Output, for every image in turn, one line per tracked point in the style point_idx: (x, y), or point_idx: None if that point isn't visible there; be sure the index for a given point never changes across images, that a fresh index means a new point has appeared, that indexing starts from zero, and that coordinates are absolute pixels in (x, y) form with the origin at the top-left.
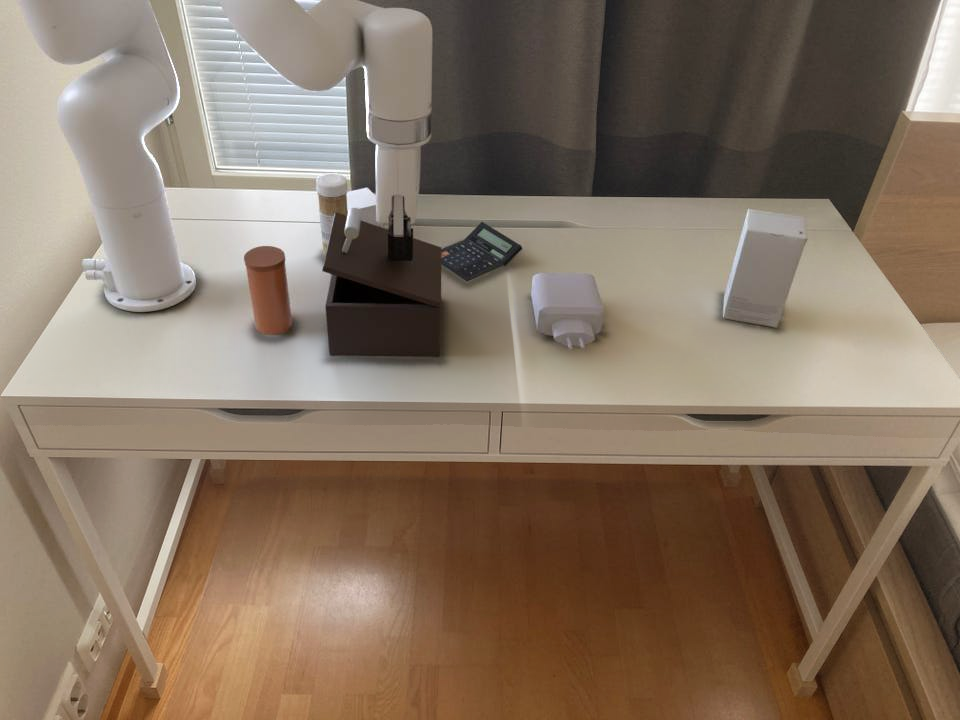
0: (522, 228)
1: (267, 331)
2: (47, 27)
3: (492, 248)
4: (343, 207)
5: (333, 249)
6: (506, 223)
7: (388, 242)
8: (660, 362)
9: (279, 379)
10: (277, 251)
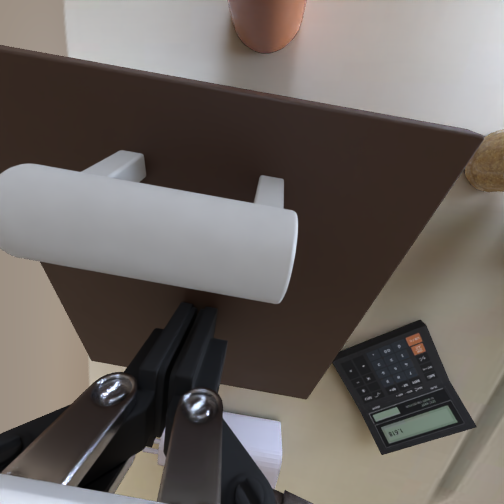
0: (456, 450)
1: None
2: None
3: (401, 413)
4: None
5: (110, 104)
6: (479, 437)
7: (156, 341)
8: (151, 484)
9: (112, 24)
10: None
